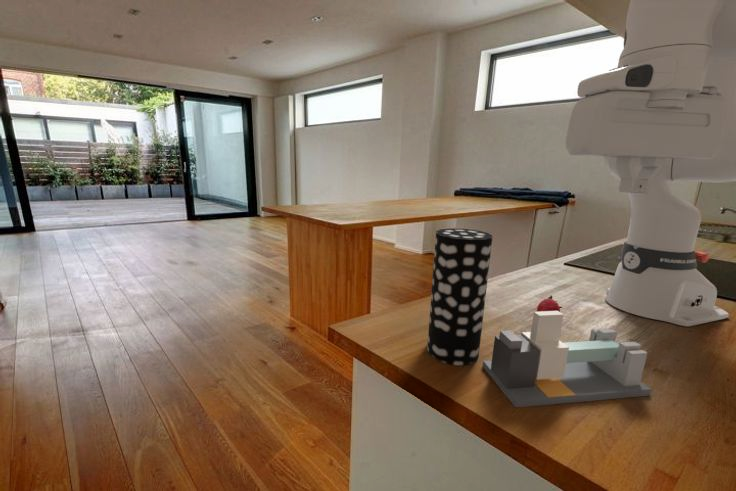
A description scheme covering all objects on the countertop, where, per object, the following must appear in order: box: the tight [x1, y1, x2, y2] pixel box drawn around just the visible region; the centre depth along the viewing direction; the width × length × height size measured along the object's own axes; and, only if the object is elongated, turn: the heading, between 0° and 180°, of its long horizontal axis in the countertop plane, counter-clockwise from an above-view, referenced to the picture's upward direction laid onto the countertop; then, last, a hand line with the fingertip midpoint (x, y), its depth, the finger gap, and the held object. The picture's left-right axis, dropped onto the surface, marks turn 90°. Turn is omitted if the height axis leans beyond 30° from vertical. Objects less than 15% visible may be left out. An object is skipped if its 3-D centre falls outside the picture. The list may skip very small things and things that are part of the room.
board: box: [482, 359, 652, 408], centre depth 49 cm, size 20×9×1 cm, turn 99°
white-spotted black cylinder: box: [427, 227, 493, 366], centre depth 54 cm, size 8×8×20 cm
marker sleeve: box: [520, 311, 569, 380], centre depth 47 cm, size 4×5×9 cm
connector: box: [491, 329, 540, 389], centre depth 47 cm, size 4×4×7 cm
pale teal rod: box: [563, 340, 619, 363], centre depth 48 cm, size 16×2×2 cm, turn 99°
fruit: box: [536, 294, 563, 312], centre depth 68 cm, size 4×6×5 cm
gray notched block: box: [588, 327, 648, 386], centre depth 50 cm, size 2×7×6 cm, turn 9°
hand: (633, 192), depth 46 cm, fingers closed
